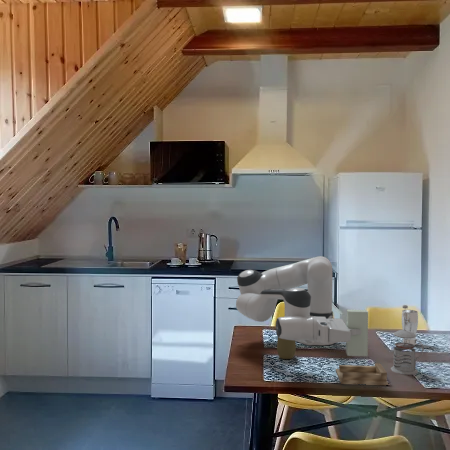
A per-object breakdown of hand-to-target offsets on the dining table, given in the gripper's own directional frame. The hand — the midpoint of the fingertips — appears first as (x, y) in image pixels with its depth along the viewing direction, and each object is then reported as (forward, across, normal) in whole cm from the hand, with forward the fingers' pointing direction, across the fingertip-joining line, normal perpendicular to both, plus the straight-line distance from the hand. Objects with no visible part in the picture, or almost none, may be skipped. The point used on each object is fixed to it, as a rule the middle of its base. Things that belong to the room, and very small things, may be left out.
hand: (359, 329), depth 172 cm
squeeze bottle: (-25, -22, -18) cm, 38 cm away
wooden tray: (+1, 0, -18) cm, 18 cm away
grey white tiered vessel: (+20, -10, -18) cm, 28 cm away
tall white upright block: (-1, 0, -9) cm, 9 cm away
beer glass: (+31, -47, -18) cm, 60 cm away
